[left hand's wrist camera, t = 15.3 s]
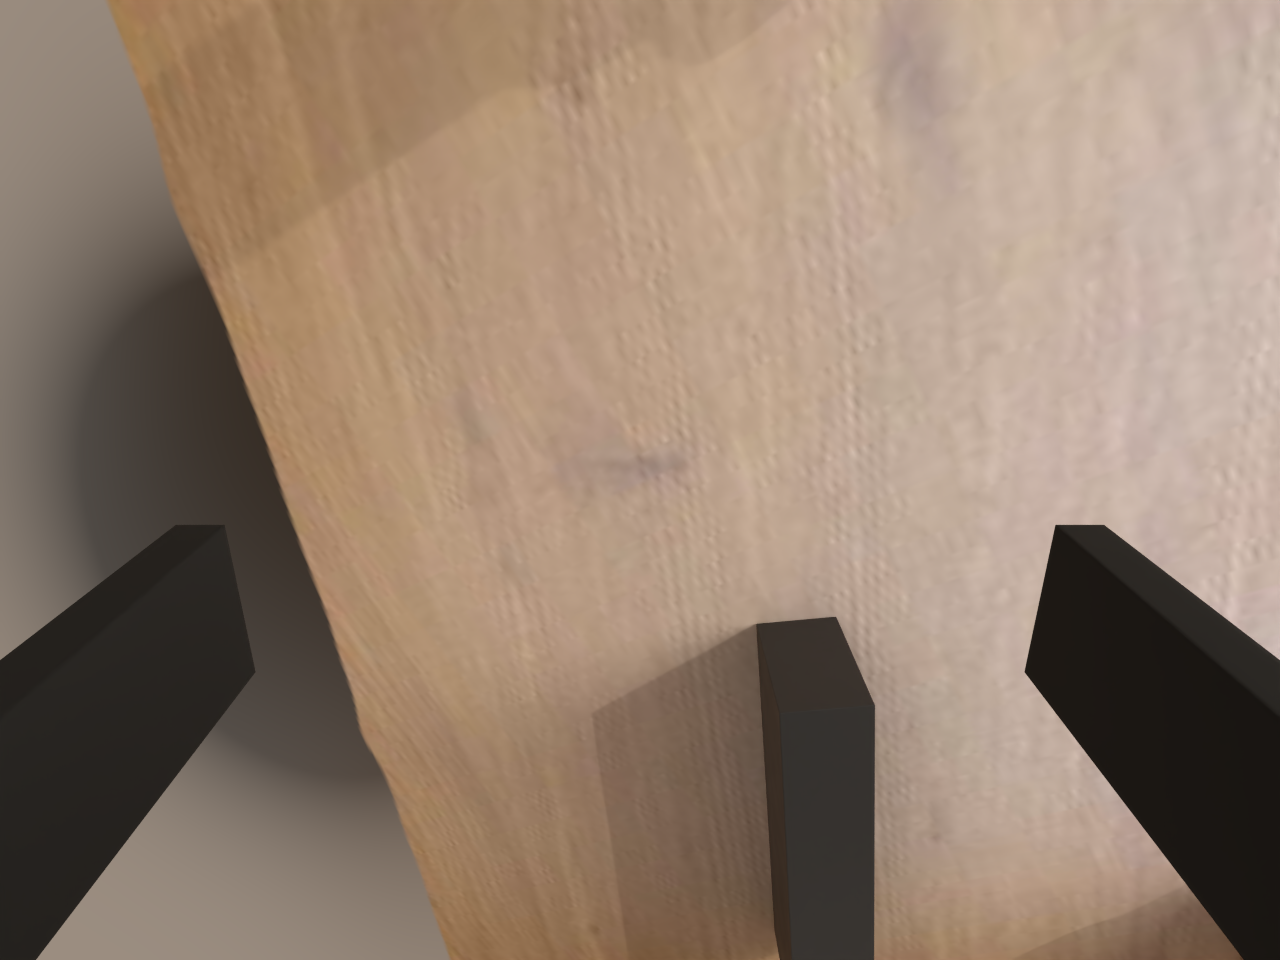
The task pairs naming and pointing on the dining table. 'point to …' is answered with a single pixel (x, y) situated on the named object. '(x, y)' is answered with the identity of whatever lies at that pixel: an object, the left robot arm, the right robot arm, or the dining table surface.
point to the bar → (818, 790)
